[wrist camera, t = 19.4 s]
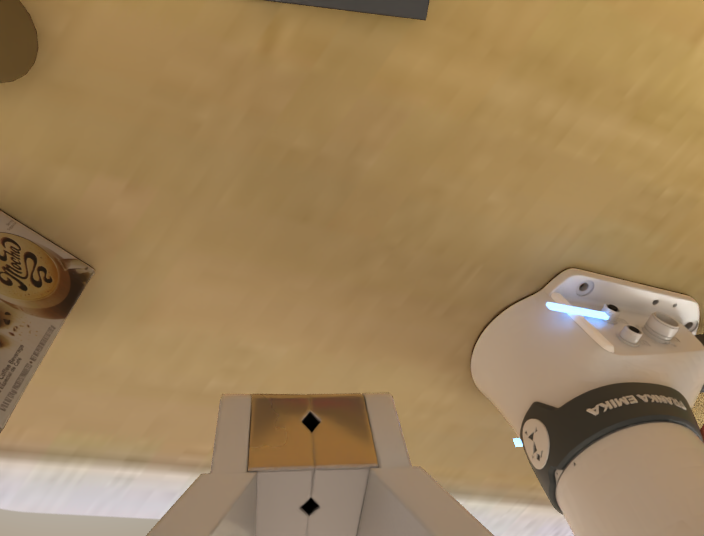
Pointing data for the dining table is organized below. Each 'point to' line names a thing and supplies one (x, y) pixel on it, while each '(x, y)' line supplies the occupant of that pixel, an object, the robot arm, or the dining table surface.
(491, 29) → the dining table surface
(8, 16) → the brown pawn
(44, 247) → the coffee box
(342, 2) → the alarm box
